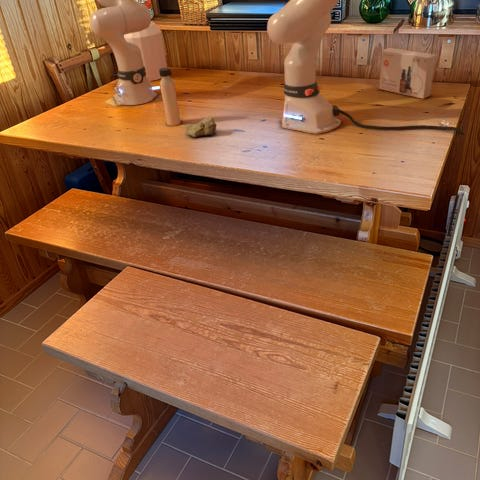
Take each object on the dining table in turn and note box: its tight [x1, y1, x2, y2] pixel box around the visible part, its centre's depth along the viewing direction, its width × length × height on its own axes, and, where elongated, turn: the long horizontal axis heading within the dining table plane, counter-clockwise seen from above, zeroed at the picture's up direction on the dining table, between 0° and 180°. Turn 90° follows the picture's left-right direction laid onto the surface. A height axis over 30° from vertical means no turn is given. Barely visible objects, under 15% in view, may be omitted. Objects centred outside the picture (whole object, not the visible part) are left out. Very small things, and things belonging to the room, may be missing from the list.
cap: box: [159, 67, 172, 77], centre depth 171 cm, size 4×4×2 cm
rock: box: [185, 115, 218, 138], centre depth 169 cm, size 11×6×10 cm
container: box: [124, 20, 168, 82], centre depth 235 cm, size 21×21×28 cm
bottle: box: [159, 75, 182, 127], centre depth 176 cm, size 5×5×20 cm
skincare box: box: [378, 47, 437, 100], centre depth 184 cm, size 21×6×16 cm, turn 40°
